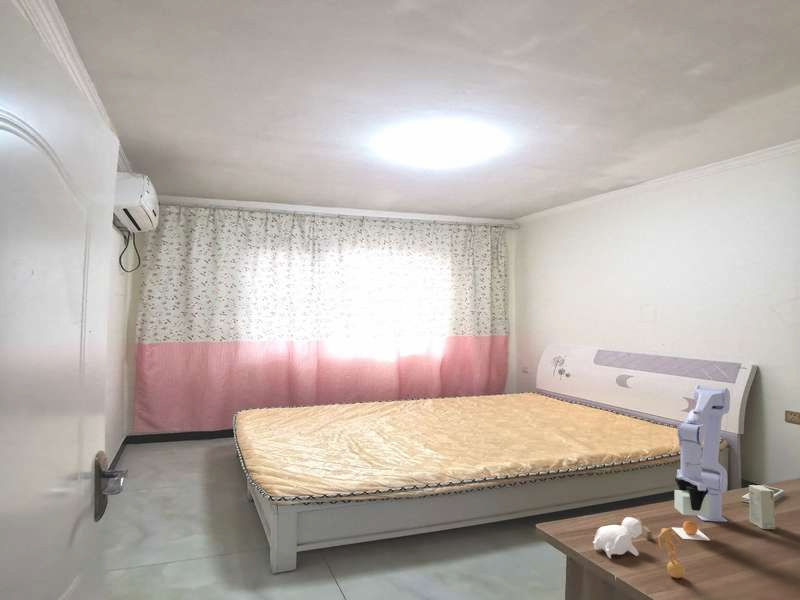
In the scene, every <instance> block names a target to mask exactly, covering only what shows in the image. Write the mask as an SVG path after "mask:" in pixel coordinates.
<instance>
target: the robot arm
mask: <svg viewBox="0 0 800 600" xmlns="http://www.w3.org/2000/svg"><path fill="white" fill-rule="evenodd" d="M730 392H731V391H730V390H729V389H728V388H727V387H715V386H714V387H713V386H705V385H699V384H697V385H696V386H695V388H694V391H693V398H694V401H695V403H696V405H695V408H693V409H691V410H689V412H688V414H687V417H686V419H685V420H684V422H682V423H680V424H679V425H678V428H677V438H678V445H679V447H680V468H679V469H677V470H676V478H674V482H675V483H676V485H677V488H678V490H687V491H688V492H689V495H690V501H691V508H692V510H696V511H700V509H701V505H702V502H703V499H704V497H705V496H707V497H709V516H697V515H695V516H697V517H698V518H699V519H700V520H702V521H705V522H706V521H708V522H724V523H726V522H728V520H727V519H726V518H725V517H723V516H722V494H724V493H725V492H727V488H728V472H727V469H726V468H725V467H724V466H723V465H721V463H719V453H720V445H721V443H720V442H721V431H722V430H721V429H722V420H723V417H724V415H726V414H729V410H730V406H731V405H730V404H731V393H730ZM702 446H703V447H702Z"/></svg>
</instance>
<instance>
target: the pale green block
mask: <svg viewBox="0 0 800 600" xmlns="http://www.w3.org/2000/svg"><path fill="white" fill-rule="evenodd" d="M674 508H675V510H677V511H678V513H680V514H681V515H682V516H696V515H697V517H698V516H709V497H707V496H705V497H704V499H703V502H702V505H701V509H700V511H696V510H692V508H691V501H690V495H689V492H688V491H687V490H679V489H674Z"/></svg>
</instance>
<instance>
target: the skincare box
mask: <svg viewBox="0 0 800 600" xmlns="http://www.w3.org/2000/svg"><path fill="white" fill-rule="evenodd" d="M748 496H749V497H748V501H749V503H748V504H749V522H750V523H751V524H753V525H754V526H756V525H757V526H756V527H758V528H760V529H762V530H776V523H775V522H776V519H775V515H776V514H775V491H774V490H773V489H770V488H768V487H766V486H763V485H759V484H757V485H755V484H751V485H750V484H749V485H748Z"/></svg>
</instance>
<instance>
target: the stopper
mask: <svg viewBox="0 0 800 600" xmlns="http://www.w3.org/2000/svg"><path fill="white" fill-rule="evenodd" d="M632 518H635V519H637V520H638V521H639V522H640V523H641V526H642V533H641V535H643V537H644V538H645V539H646V540H647V541H652V539H653V538H652V533H653V532H652V531H651V530H650V529H649V528H648V526H646V525H645V524H644V523H643V521H642V520H641V519H640V518H639V517H638V516H635V515H633V516H632Z"/></svg>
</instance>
